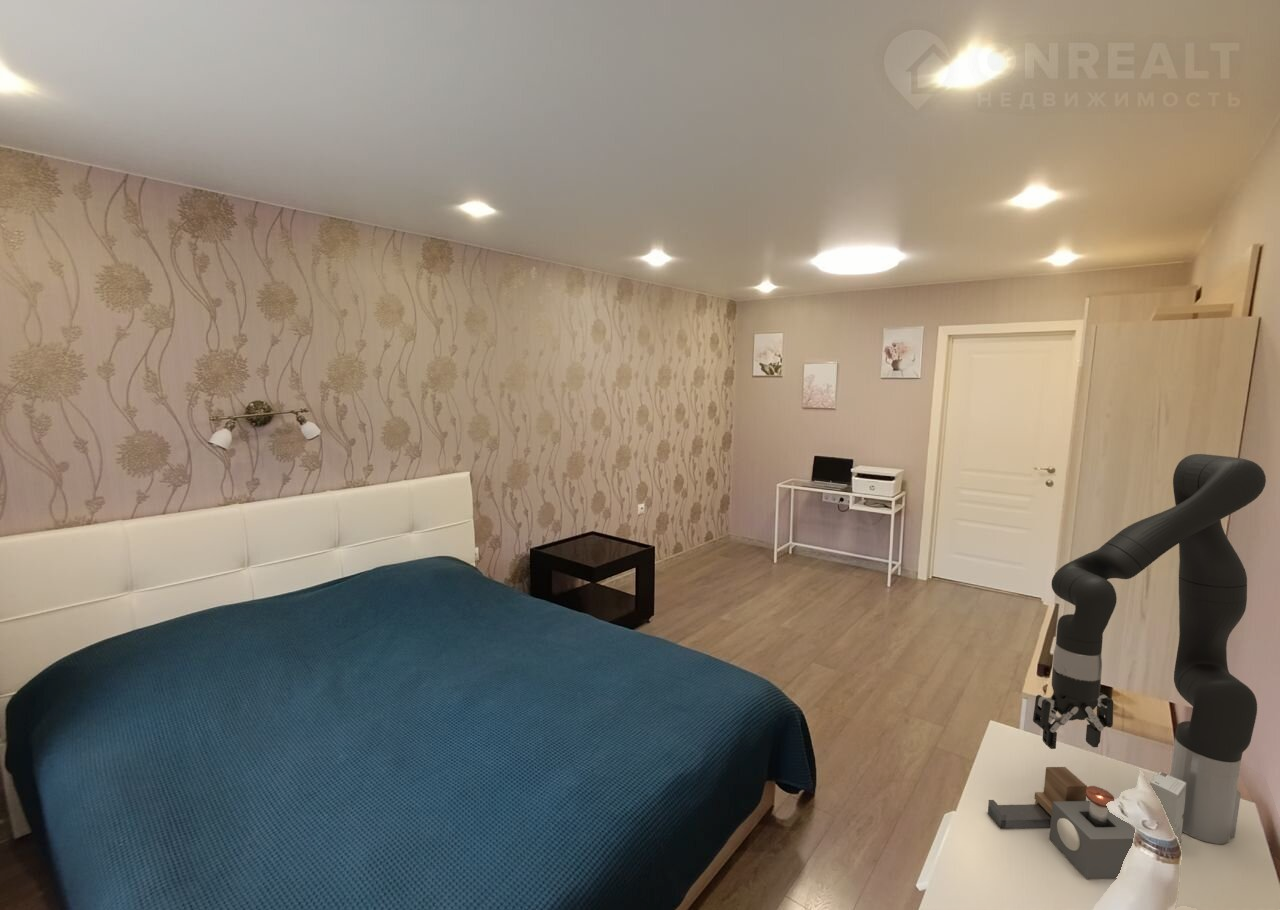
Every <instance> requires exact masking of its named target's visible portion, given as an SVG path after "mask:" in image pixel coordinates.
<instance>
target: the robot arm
mask: <svg viewBox="0 0 1280 910" xmlns="http://www.w3.org/2000/svg"><path fill="white" fill-rule="evenodd" d="M1266 482H1267V479H1266V474H1265V471H1264V470H1263V467H1261V466H1260V465H1259V464H1258V463H1256V462H1254V461H1252V460H1250V459H1248V458H1247V459H1246V458H1240V457H1235V456H1234V457H1233V456H1227V455H1225V456H1223V455H1215V454H1205V453H1193V454H1190V455H1187V456H1185V457H1184V458H1183V459H1181V460H1180V461H1178V464H1177V465H1176V467H1175V469H1174V472H1173V477H1172V487H1173V488H1172V489H1173V495H1174V496H1173V497H1174V501H1175V502H1174V503H1175V505H1174V506H1173V507H1171V508H1169V509H1165V510H1163V511H1161V512H1159V513H1157V514H1153V515H1151V516H1148V517H1145V518H1143V519H1140V520H1139V521H1135V522H1134V523H1132V524H1130V525H1128V526H1126V527H1124V528H1122V530H1120V531H1119V532H1118V533H1117V534H1115V535H1114V536H1113V537H1111V538H1110V539H1109V540H1108V541H1106V542H1105V543H1104V544H1103V545H1101V546H1100V547H1099V548H1098V549H1096V550H1093V551H1091V552H1088V553H1085V554H1084V555H1081V556H1080V557H1077V558H1076V559H1073V560H1072V561H1070V562H1069V561H1068V562H1067V563H1065V564H1064V565H1062V566H1061V567H1060V568H1058V570H1057V571H1056V572H1055V573H1054V575H1053V577H1052V579H1051V589H1052V591H1053V593H1054V594H1055V595H1056V596H1057V597H1059V598H1060V599H1061V600H1063V601H1066V602H1067V603H1069V604H1071V605H1073V606H1074V613H1073V614H1072V613H1071V614H1069V613H1067V614H1063V615H1062V616H1060V617H1059V618H1058V621H1057V627H1056V639H1055V640H1056V641H1055V647H1054V650H1053V655H1052V656H1053V659H1052V672H1051V687H1052V691H1053V692H1052V695H1051V697H1044V696H1042V695H1041V694H1037V695H1036V696H1035V701H1034V702H1035V703H1034V710H1033V718H1032V722H1033V723H1034V724H1036V725H1037V726H1038V727H1040V729H1042V741H1043V743H1044V744H1045V745H1046V746H1047V747H1048V748H1049V749H1050V750H1055V749H1056V748H1057V735H1058V732H1057V731H1058V729H1060V728H1061V726H1064V725H1066V724H1067V722H1069V721H1075V720H1079V721H1085V720H1086V722H1087V723H1088V724H1086V730H1085V731H1086V732H1085V741H1086V743H1087V744H1088V745H1090V747H1092V748H1099V744H1100V743H1101V736H1102V731H1104V728H1106V727H1107V728H1111V727H1113V725H1114V700H1113V699H1112V698H1111V697H1108V696H1107V695H1106V694H1104V693H1103V692H1101V683H1102V671H1103V669H1102V668H1103V658H1102V651H1103V636H1104V631H1105V630H1106V628H1107V626H1108V625H1109V621H1110V619H1111V617H1112V615H1113V613H1114V611H1115V608H1116V606H1117V599H1118V598H1117V593H1116V589H1115V587H1114V585H1113V584H1112V583H1111V582H1110V581H1109V579H1120V580H1130V579H1132V578H1134V577H1135V576H1138V574H1140V573H1141V572H1143V571H1144V570H1146V569H1147V568H1148V566H1150V565H1151V564H1152V563H1153V562H1155V561H1156V560H1157V559H1159V558H1160V557H1161V556H1163V555H1164V554H1166V553H1167V552H1168V551H1169V550H1171V549H1173V548H1174V547H1175V546H1177V545H1178V550H1179V551H1178V555H1179V557H1178V558H1179V565H1178V602H1179V603H1178V604H1179V605H1178V608H1179V609H1178V610H1179V611H1178V613H1179V614H1178V615H1179V616H1178V625H1179V626H1178V627H1179V630H1178V631H1179V632H1178V633H1179V635H1178V644H1177V645H1178V646H1177V651H1176V658H1175V665H1174V670H1173V682H1174V686H1175V689H1176V691H1177V693H1178V694H1179V695H1180V696H1181V697H1182V698H1183V699H1184V700H1185V701H1186V702H1187V703H1189V705H1191V706H1192V711H1191V717H1190V720H1187V721H1186V720H1185V721H1182V722H1181V721H1180V722H1179V723H1178V724H1177V725H1176V729H1175V734H1174V735H1175V736H1174V742H1173V753H1172V757H1171V758H1172V761H1171V768H1170V773H1169V774H1170V775H1169V776H1172V777H1174V778H1177V779H1179V780H1181V781H1183V782H1186V795H1185V806H1184V816H1183V827H1182V833H1185V834H1187V835H1189V836H1190V837H1191V838H1192V837H1193V838H1195V839H1197V840H1200V841H1203V842H1206V843H1211V844H1216V845H1220V844H1221V845H1224V844H1227V843H1229V841H1230V839H1231V838H1235V837H1236V830H1237V823H1238V817H1239V810H1240V803H1241V797H1242V795H1241V792H1240V791H1239V790H1238V786H1239V778H1240V777H1239V776H1240V771H1241V770H1240V769H1241V765H1242V764H1241V763H1242V757H1243V753H1244V752H1245V751H1246V750H1247V748H1249V746H1250V744H1251V741H1252V737H1253V732H1254V728H1255V725H1256V719H1257V716H1258V715H1257V714H1258V702H1257V698H1256V695H1255V693H1254V692H1253V690H1252V689H1250V687H1249V686H1248V685H1246V684H1245V683H1243V682H1242V681H1241V680H1239V679H1238V678H1237V677H1235V676H1234V675H1233V674H1231V673H1230V672H1229V666H1228V660H1227V659H1228V658H1227V656H1228V655H1227V646H1228V640H1229V637H1230V635H1231V633H1232V632H1233V630H1234V629H1235V627H1236V626H1237V625H1238V624H1239V623H1240V621H1241V619H1242V618H1243V616H1244V615H1245V613H1246V609H1247V601H1248V600H1247V599H1248V577H1247V572H1246V568H1245V567H1244V564H1243V562H1242V561H1241V558H1240V557H1239V555H1238V553H1237V552H1236V550H1235V549H1234V547H1233V545H1232V543H1231V542H1230V540H1229V538H1228V537H1227V535H1226V533H1225V530H1224V528H1223V524H1222V521H1221V520H1222V519H1225V518H1227V517H1228V516H1230V515H1232V514H1234V513H1236V512H1237V511H1239V510H1241V509H1242V508H1245V507H1246V506H1248V505H1249V504H1251V503H1253V501H1255V500H1256V499H1258V497H1259V496H1260V495H1261V494H1262V493H1263V491H1264V489H1265V486H1266V484H1267V483H1266ZM1095 709H1096V713H1095V712H1094V710H1095ZM1057 713H1058V714H1059V715H1060V717H1059V716H1057Z"/></svg>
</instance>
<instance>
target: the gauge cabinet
mask: <svg viewBox="0 0 1280 910" xmlns="http://www.w3.org/2000/svg"><path fill="white" fill-rule="evenodd" d="M1089 806H1090V800H1086V801H1058V802H1053V804H1052V814H1051V824H1050V828H1049V835H1048V839H1049V840H1050V841H1051V843H1052V844H1053V845H1054V846H1055V847H1056V848H1057V849H1058V850H1059V852H1060V853H1062V855H1064V857H1065V858H1066V859H1067V860H1068V861H1069V862H1070V863H1071V865H1072V866H1073V867H1074V868H1076V870H1077V871H1078V872H1079V873H1080V874H1081V876H1083V877H1084V879H1086V880H1103V879H1104V880H1116V879H1115V878H1116V877H1117V876H1118V874H1119V873H1120V870H1121V867H1122V864H1123V861H1124V859H1125V857H1126V855H1127V853H1128V851H1129V849H1130V848H1131V846H1132V843H1133V838H1134V833H1135V829H1136V828H1135V827H1134V826H1133V825H1132V824H1130V823H1129V822H1128V821H1127V822H1128V823H1127V822H1125V821H1123V820H1121V819H1120V818H1118V817H1116V816H1115V815H1113V814H1112V813H1110V812H1109V810H1108V813H1107V822H1106V827H1094V826H1093V825H1092V824H1091V823H1090V822H1089V821H1088V815H1089Z"/></svg>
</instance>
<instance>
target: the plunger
mask: <svg viewBox="0 0 1280 910" xmlns="http://www.w3.org/2000/svg"><path fill="white" fill-rule="evenodd" d="M1086 799H1087V800H1088V801H1090V806H1089V815H1088V821H1089V822H1090V823H1091V824H1092V825H1093V826H1094V827H1106V822H1107V813H1108V808H1107V806H1106V804H1107V803H1108V802H1110V801H1114V802H1115V797H1114V794H1112V793H1110V791H1108V790H1106V789H1104V788H1103V787H1100V786H1096V785H1089V786H1088V785H1087V788H1086Z"/></svg>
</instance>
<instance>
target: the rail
mask: <svg viewBox="0 0 1280 910" xmlns="http://www.w3.org/2000/svg"><path fill="white" fill-rule="evenodd" d="M987 815H988V816H989V817H990V819H991V820H992V821H993V822H994V823H995V825H996V826H997V827H998V828H999V829H1000V830H1027V829H1029V830H1030V829H1031V830H1033V829H1035V830H1036V829H1037V830H1038V829H1050V824H1051V815H1050V814H1049V813H1048V812H1047V811H1046V810H1045V809H1044V808H1043V807H1042V806H1041V805H1040V804H1035V803H1034V804H1033V803H1032V804H998V803H997V802H996V801H995V799H988V807H987Z"/></svg>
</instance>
